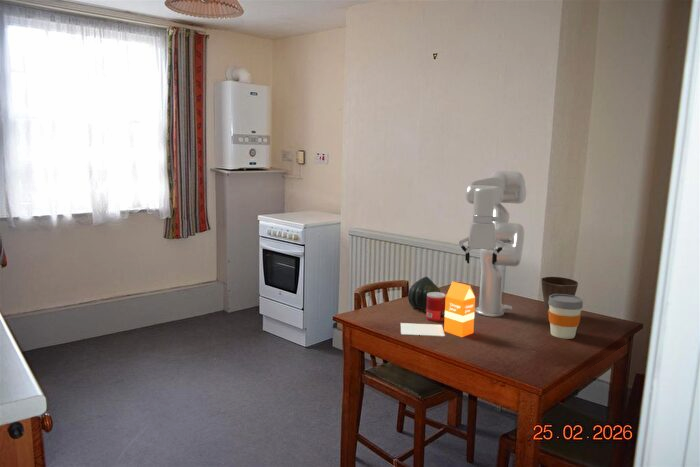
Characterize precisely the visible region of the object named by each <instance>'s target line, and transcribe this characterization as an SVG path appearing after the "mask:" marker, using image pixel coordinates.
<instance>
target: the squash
mask: <svg viewBox="0 0 700 467" xmlns="http://www.w3.org/2000/svg"><path fill="white" fill-rule="evenodd" d="M429 292H440V293H442V292H441V289H440V288H439V287H438V286H437V285H436V283H434V282H433V280H431V278H429V277H428V276H424V277H422V278H420V279H418V280H417V281H415V282H414V283H413V284H412V285H411V286H410V288H409V290H408V293H407V300H408V302H409V305H410V306H411V307H412V308H415V309H423V310H424V311H425V312H426V307H427V293H429Z"/></svg>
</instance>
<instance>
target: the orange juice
mask: <svg viewBox="0 0 700 467" xmlns="http://www.w3.org/2000/svg"><path fill="white" fill-rule="evenodd" d="M445 295H446V300H445V319H444V321H443V322H444V326H443V331H444V333H449V334H451V335H454V336H457V337H461V338H463V337H467V336H469V335H472V334H474V328H475V327H474V326H475V314H476V312H475V308H476V296H475V293H474V291H473V289H472V286H471V285H469V284H465V283H461V282H456V281H454V280H452V282H451V284H450V286H449V288H448V291H447V293H446V294H445Z"/></svg>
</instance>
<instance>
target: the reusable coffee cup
mask: <svg viewBox="0 0 700 467" xmlns="http://www.w3.org/2000/svg"><path fill="white" fill-rule="evenodd" d="M548 304H549V310H548V313H549V316H548V322H549V326H550V334H551V336H553V337H556V338H559V339H565V340H567V339H568V340H569V339H574V338H575V336H576V333H577V330H578V327H579V325H580V323H581V317H582V309H583V307H584V306H583V304H584V302H583V298H581V297H579V296H577V295H575V296H573V295H567V294H552V295H550V296H549V301H548Z"/></svg>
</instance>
